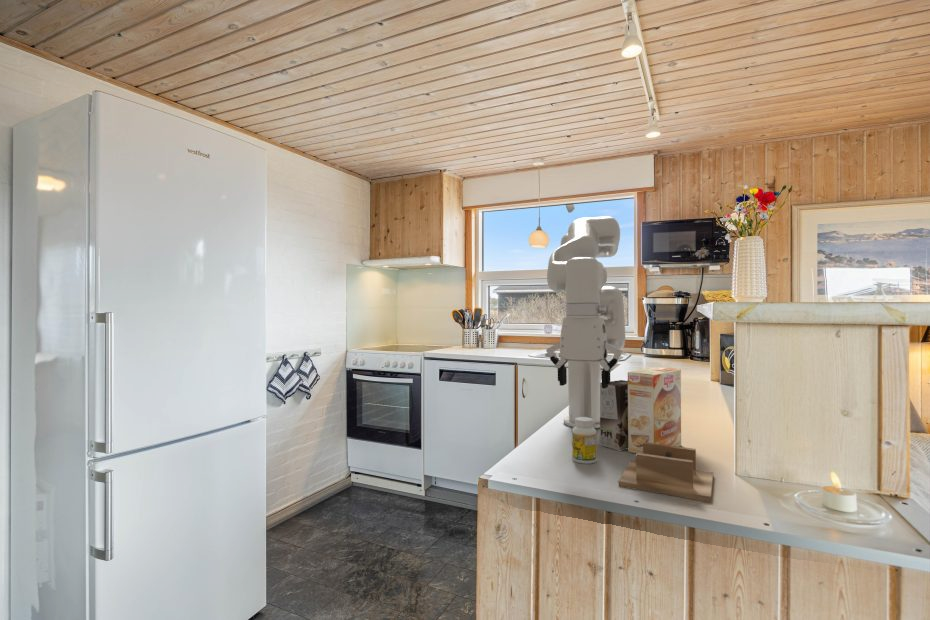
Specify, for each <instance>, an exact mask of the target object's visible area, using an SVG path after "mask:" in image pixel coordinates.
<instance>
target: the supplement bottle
mask: <svg viewBox="0 0 930 620" xmlns="http://www.w3.org/2000/svg"><path fill="white" fill-rule="evenodd" d="M575 425H576V427H572V434H571V435H572V438H571V439H572V441H571V442H572V443H571V444H572V459H573V462H576V463H578V464H583V465H590V464H594V463H596V462H597V459H598V456H597V454H598V453H597V452H598V451H597V450H598V449H597V430H596V428H593V427H592V426H593V419H592V418H588V417H577V418H575Z"/></svg>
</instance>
